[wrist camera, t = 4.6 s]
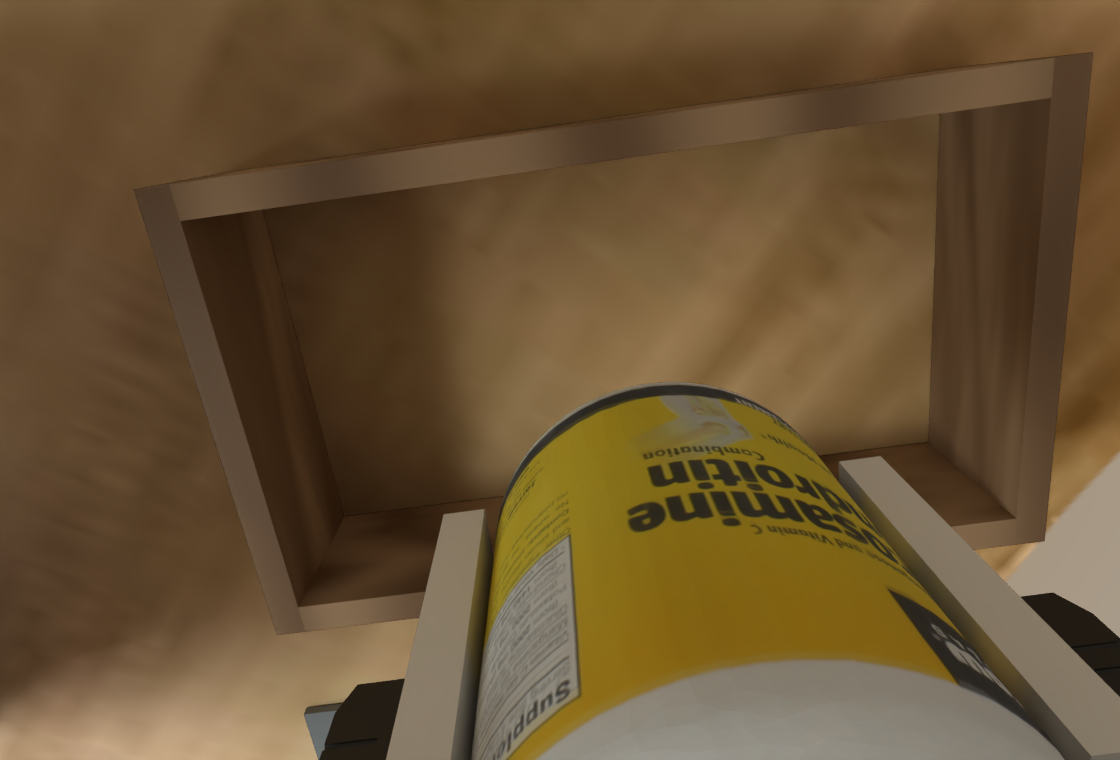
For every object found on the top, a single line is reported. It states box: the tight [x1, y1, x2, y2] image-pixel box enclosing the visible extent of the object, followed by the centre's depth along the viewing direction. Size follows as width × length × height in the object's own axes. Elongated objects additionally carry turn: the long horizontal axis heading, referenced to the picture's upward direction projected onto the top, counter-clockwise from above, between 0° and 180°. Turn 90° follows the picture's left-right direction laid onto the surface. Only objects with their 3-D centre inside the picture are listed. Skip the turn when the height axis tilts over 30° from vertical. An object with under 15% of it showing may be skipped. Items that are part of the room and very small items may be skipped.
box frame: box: [134, 52, 1093, 635], centre depth 25 cm, size 26×15×6 cm, turn 98°
